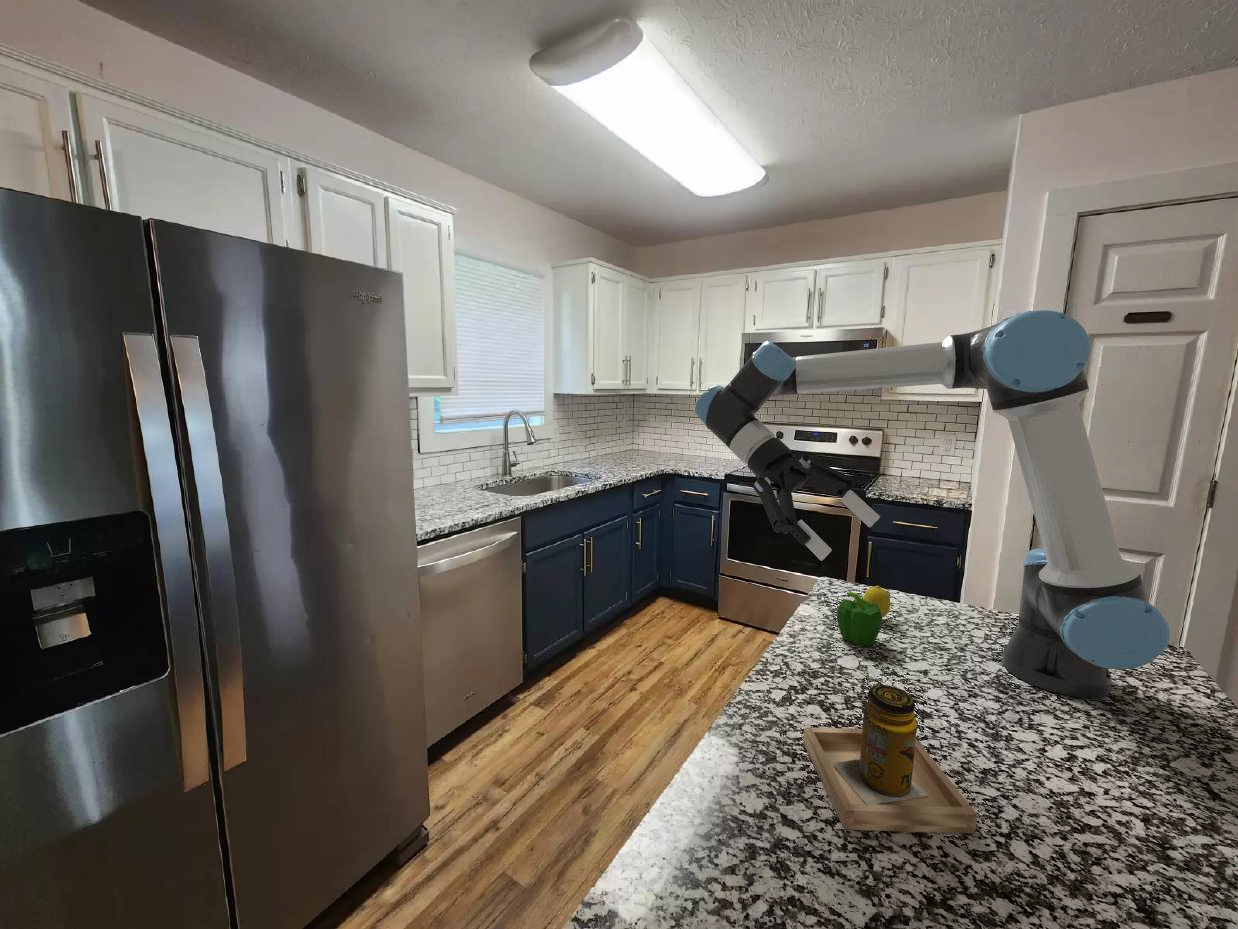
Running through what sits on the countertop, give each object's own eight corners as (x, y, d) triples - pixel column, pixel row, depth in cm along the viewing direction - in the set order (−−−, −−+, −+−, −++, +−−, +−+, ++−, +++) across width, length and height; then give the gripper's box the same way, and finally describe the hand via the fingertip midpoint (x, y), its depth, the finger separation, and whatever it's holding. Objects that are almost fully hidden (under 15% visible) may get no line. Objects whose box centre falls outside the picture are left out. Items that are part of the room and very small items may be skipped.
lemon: (892, 626, 113) (895, 591, 112) (865, 624, 114) (867, 589, 113) (884, 615, 118) (887, 582, 117) (858, 613, 119) (861, 580, 118)
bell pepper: (888, 643, 105) (892, 596, 104) (865, 654, 101) (869, 605, 99) (851, 627, 112) (854, 583, 111) (827, 637, 108) (830, 591, 106)
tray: (907, 746, 75) (909, 730, 74) (975, 833, 60) (977, 814, 59) (803, 743, 75) (804, 727, 75) (844, 829, 60) (845, 810, 60)
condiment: (927, 796, 64) (936, 708, 63) (867, 807, 63) (874, 716, 61) (886, 756, 71) (893, 675, 70) (831, 765, 70) (837, 682, 68)
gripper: (795, 444, 103) (880, 522, 93) (705, 488, 90) (793, 583, 80) (812, 417, 97) (905, 496, 87) (719, 459, 85) (815, 558, 75)
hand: (852, 538), depth 84 cm, fingers open, 13 cm apart
